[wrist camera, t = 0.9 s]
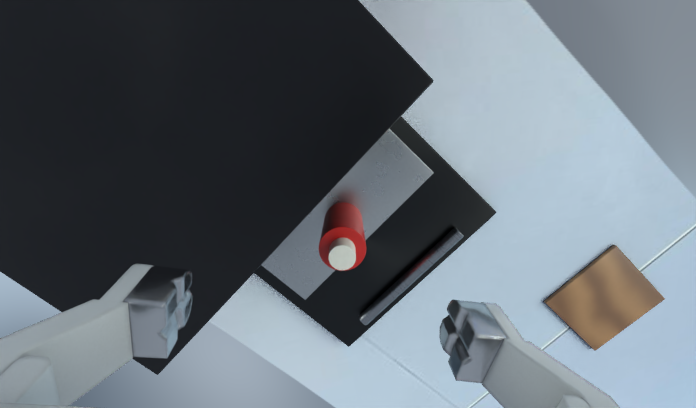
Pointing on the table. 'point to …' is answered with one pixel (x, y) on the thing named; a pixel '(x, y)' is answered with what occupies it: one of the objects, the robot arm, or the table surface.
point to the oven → (218, 154)
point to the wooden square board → (604, 298)
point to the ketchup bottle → (342, 237)
